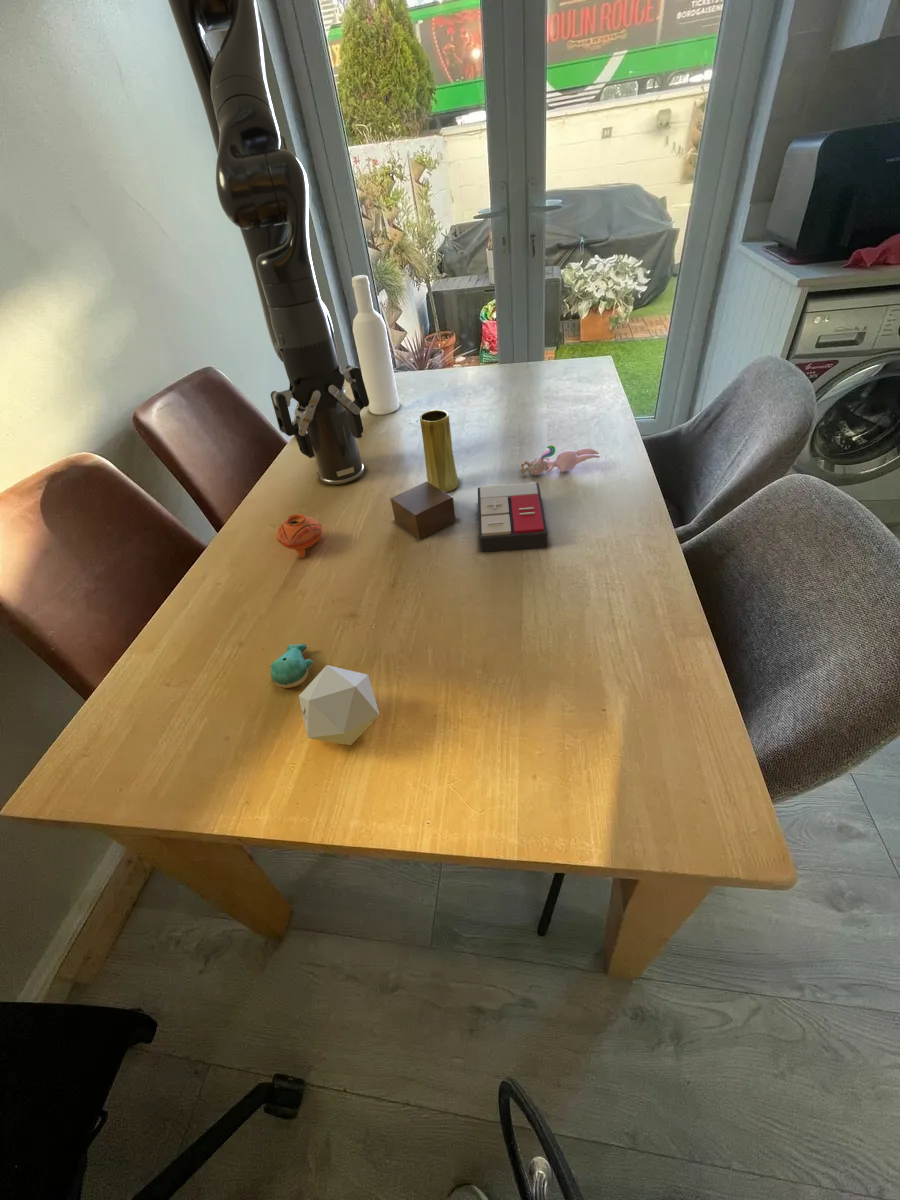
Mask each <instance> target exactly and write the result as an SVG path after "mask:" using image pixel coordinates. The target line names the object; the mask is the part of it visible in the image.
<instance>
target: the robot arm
mask: <svg viewBox="0 0 900 1200" xmlns="http://www.w3.org/2000/svg"><path fill="white" fill-rule="evenodd" d="M167 1H168V4H169V8H170V9H171V13H172V16H173V19H174V22H175V25H176V28H177V30H178V33H179V36H180V39H181V42H182V46H183V48H184V51H185V54H186V58H187V60H188V62H189V65H190V68H191V71H192V74H193V78H194V80H195V83H196V85H197V89H198V93H199V94H200V99H201V101H202V104H203V108H204V112H205V114H206V118H207V121H208V125H209V130H210V131H211V136H212V139H213V144H214V147H215V150H216V154H217V158H216V165H215V166H216V168H215V186H216V193H217V198H218V201H219V203H220V206H221V209H222V210H223V212H224V214H225V216H226V217H227V219H228V220H229V221H230V222H232V223H233V224H234V225H235V226H236V227H238V228H239V230H240V232H241V236H242V239H243V241H244V245H245V248H246V250H247V254H248V257H249V261H250V265H251V269H252V272H253V276H254V279H255V283H256V288H257V292H258V296H259V301H260V304H261V308H262V313H263V318H264V322H265V325H266V328H267V333H268V335H269V339H270V342H271V345H272V347H273V351H274V352H275V354H276V356H277V357H278V359H279V360H280V361H281V362H282V363H283V366H284V370H285V373H286V376H287V379H288V382H289V387H288V389H285V390H282V391H276V390H273V391H271V392H270V398H271V399H270V400H271V402H272V407H273V409H274V414H275V418H276V420H277V425H278V428H279V431H280V432H282V433H284V434H285V435H286V436H288V437H292V436H295V439H296V442H297V445H298V449H299V451H300V452H301V453H302V455H303V456H305V457H308V459H312V458H314V460H315V463H316V467H317V471H318V475H319V479H320V481H321V482H322V483H324V484H325V485H330V486H338V485H339V486H340V485H345V484H349V483H352V482H354V481H356V480H358V479H359V478H360V477H362V476H363V474H364V472H365V467H364V464H363V460H362V456H361V452H360V448H359V443H358V439H361V438H362V437H363V433H364V426H363V421H362V416H361V411H362V410H363V409H364V408H367V407H369V406H368V405H369V399H368V396H367V392H366V388H365V385H364V381H363V377H362V372H361V368H359V367H357V366H354V365H351V364H348V365H346V367H345V369H343V370H342V367H341V363H340V357H339V351H338V346H337V340H336V335H335V329H334V326H333V322H332V318H331V315H330V312H329V310H328V308H327V306H326V305H325V302H323V301H322V298H321V294H320V290H319V286H318V282H317V279H316V278H317V277H316V273H315V269H314V265H313V260H312V253H311V246H310V245H311V244H310V228H309V226H310V225H309V220H310V219H309V218H310V217H309V215H310V213H309V212H310V210H309V209H310V205H309V204H310V194H309V192H310V191H309V181H308V176H307V173H306V170H305V168H304V167H303V164H302V163H301V161H300V160H299V158H297V156H296V155H295V154H294V153H293V152H291V150H288V149H284V148H281V135H280V130H279V125H278V121H277V117H276V114H275V113H276V112H275V110H274V109H275V108H274V106H273V102H272V97H271V93H270V89H269V84H268V78H267V73H266V63H265V53H264V52H265V51H264V43H263V42H264V41H263V34H262V27H261V26H262V25H261V19H260V12H259V11H260V10H259V6H258V5H259V4H258V0H167ZM222 31H227V32H226V34H225V36H224V38H223V40H222V43H221V44H220V47H219V48H218V51H217V53H216V55H215V57H214V55H213V53H212V51H211V49H210V47H209V45H208V41H207V39H206V34H208V33H213V32H222ZM345 381H346V383H348V384H349V386H350V389H351V392H352V395H353V399H354V400H352V399H351V398H350V397H348V396H347V393H346V389H345ZM292 399H294V400H295V401H296V402H297V403H296V407H295V409H294V418H293V421H292V418H291V414H290V411H289V407H290V406H291V400H292Z"/></svg>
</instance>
